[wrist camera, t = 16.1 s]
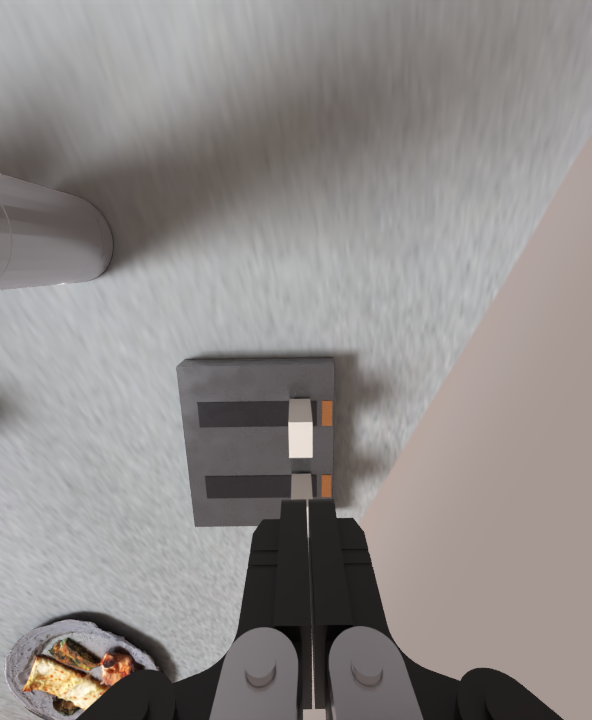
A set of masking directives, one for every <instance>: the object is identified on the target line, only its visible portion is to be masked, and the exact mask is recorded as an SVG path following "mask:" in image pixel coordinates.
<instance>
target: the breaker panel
mask: <svg viewBox="0 0 592 720" xmlns="http://www.w3.org/2000/svg"><path fill="white" fill-rule="evenodd" d="M176 369H177V378H178V386H179V395H180V403H181V412H182V420H183V429H184V437H185V446H186V454H187V463H188V471H189V480H190V488H191V497H192V505H193V514H194V522H195V527H211V526H259V524H260V523H261V521H262V520H263V519H280V514H281V500H289V499H291V478H292V474H311V482H312V496H313V499H332V493H333V432H334V371H335V364H334V362H333V359H332V357H325V358H258V359H190V360H183V361H182V362H181V363H180V364H179V365H178V366H177V367H176ZM289 399H310V402H311V412H312V422H313V458H289V430H288V419H289Z"/></svg>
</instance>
